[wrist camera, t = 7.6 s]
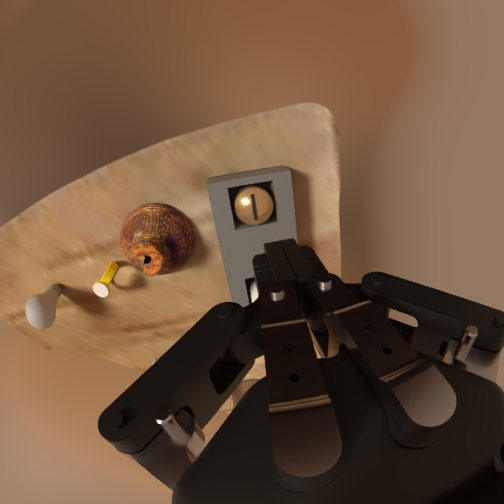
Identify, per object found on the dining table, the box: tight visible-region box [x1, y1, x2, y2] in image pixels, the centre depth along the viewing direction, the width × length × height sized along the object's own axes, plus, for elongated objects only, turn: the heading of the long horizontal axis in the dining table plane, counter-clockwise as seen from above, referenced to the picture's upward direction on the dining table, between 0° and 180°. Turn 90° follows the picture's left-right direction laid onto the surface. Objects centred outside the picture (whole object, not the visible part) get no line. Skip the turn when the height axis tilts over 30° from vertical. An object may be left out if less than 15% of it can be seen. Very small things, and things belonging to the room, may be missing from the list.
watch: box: [93, 262, 119, 297], centre depth 40 cm, size 6×3×6 cm, turn 141°
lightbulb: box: [26, 284, 62, 329], centre depth 37 cm, size 6×6×11 cm
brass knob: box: [234, 183, 273, 225], centre depth 37 cm, size 5×5×4 cm
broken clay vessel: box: [120, 203, 194, 276], centre depth 38 cm, size 12×12×7 cm
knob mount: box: [207, 166, 298, 307], centre depth 41 cm, size 22×11×4 cm, turn 8°
